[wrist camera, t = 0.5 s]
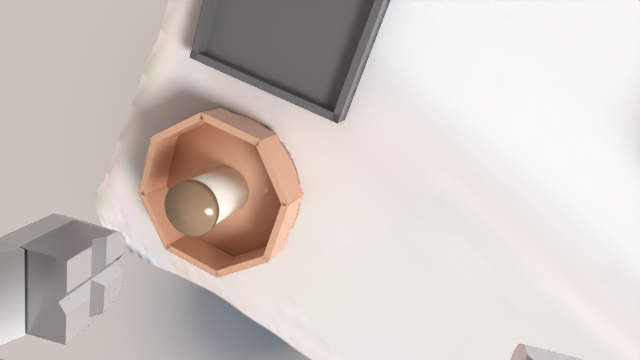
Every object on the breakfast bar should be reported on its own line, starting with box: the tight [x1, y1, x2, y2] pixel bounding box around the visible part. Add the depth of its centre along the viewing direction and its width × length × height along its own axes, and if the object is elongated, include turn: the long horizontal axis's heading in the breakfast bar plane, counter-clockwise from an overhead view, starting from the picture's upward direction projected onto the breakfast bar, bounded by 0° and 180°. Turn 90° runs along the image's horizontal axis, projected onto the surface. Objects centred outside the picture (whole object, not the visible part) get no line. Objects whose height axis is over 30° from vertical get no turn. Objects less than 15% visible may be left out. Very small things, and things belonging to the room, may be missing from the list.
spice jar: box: [165, 166, 249, 236], centre depth 53 cm, size 6×6×8 cm
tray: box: [190, 0, 390, 123], centre depth 49 cm, size 16×18×2 cm
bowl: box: [139, 108, 303, 278], centre depth 55 cm, size 18×18×5 cm
